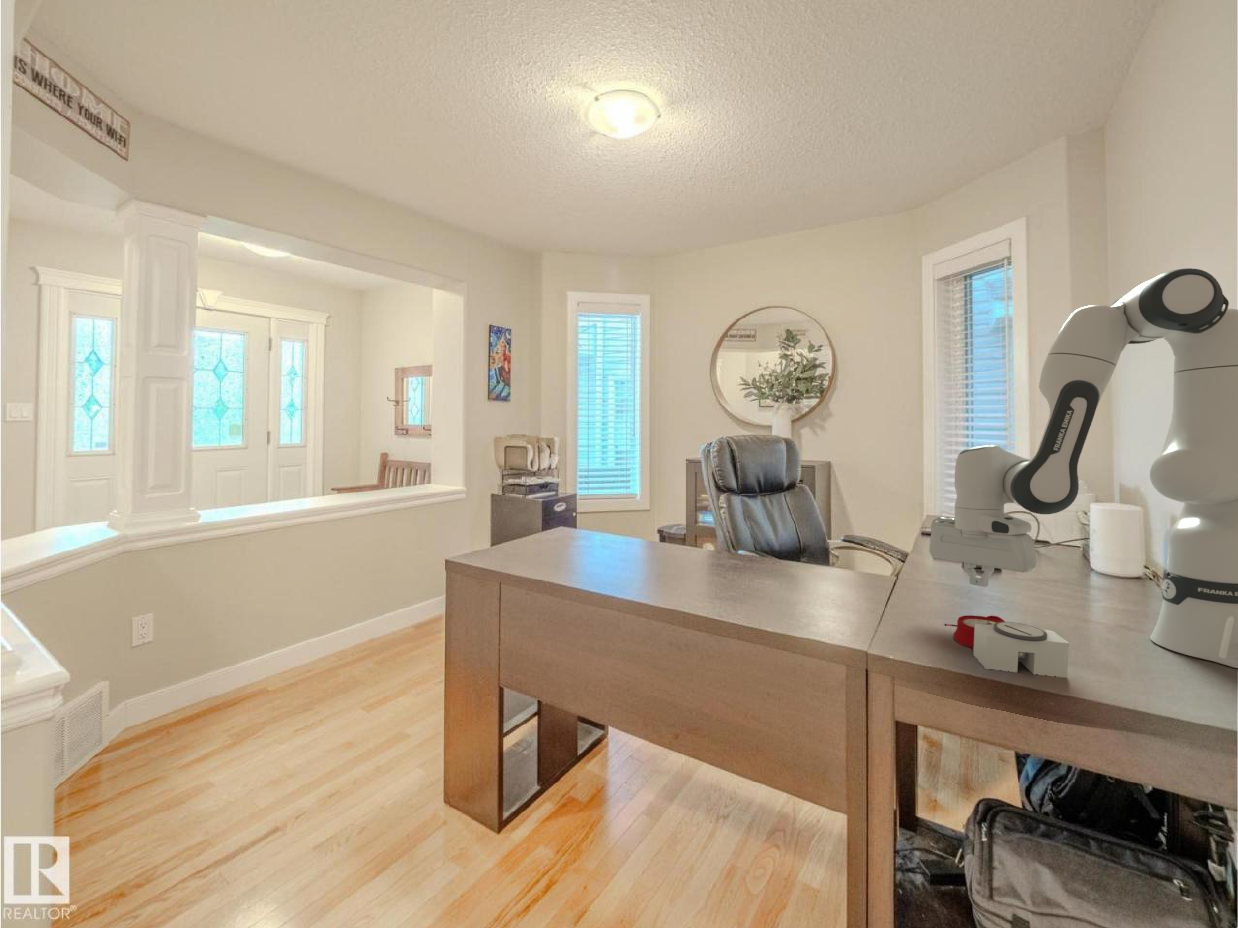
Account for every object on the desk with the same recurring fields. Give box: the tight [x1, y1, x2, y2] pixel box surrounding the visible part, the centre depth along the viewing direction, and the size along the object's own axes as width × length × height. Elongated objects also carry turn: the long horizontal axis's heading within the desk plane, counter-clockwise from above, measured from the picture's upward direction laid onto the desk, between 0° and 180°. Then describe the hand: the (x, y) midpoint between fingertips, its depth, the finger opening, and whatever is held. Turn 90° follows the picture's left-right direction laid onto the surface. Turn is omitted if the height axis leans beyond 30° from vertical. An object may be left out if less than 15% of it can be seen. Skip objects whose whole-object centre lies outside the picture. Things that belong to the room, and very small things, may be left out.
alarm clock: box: [944, 614, 1006, 649], centre depth 107 cm, size 10×6×15 cm
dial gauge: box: [972, 621, 1070, 679], centre depth 96 cm, size 12×8×7 cm, turn 74°
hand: (978, 585), depth 117 cm, fingers closed
